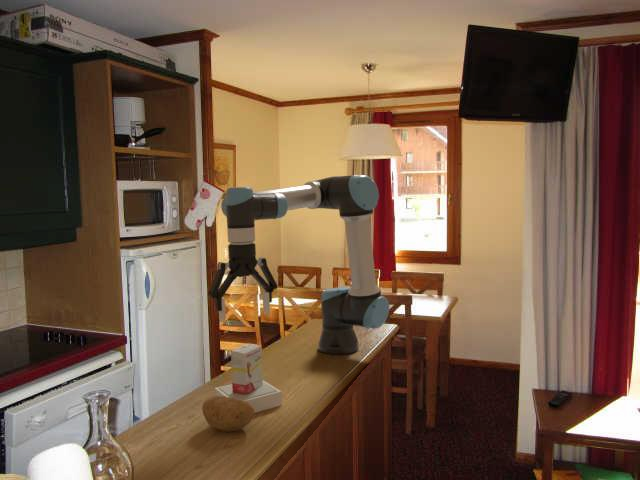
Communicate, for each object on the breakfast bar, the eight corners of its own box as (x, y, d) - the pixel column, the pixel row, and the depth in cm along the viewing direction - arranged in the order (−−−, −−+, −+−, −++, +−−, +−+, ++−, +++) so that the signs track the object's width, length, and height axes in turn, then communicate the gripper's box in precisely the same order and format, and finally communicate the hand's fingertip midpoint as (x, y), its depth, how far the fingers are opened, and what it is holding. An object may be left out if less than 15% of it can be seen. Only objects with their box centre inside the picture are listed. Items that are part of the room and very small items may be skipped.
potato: (242, 442, 127) (241, 410, 126) (195, 433, 132) (193, 402, 132) (263, 425, 136) (262, 395, 135) (217, 417, 141) (216, 388, 141)
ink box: (246, 395, 145) (244, 353, 144) (231, 392, 147) (229, 351, 146) (263, 384, 152) (262, 344, 151) (250, 382, 155) (248, 342, 153)
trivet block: (259, 390, 160) (258, 376, 159) (281, 405, 148) (281, 390, 148) (215, 401, 152) (214, 387, 152) (235, 418, 140) (235, 402, 140)
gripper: (274, 238, 156) (277, 308, 158) (193, 245, 142) (197, 322, 144) (287, 240, 150) (290, 313, 152) (203, 247, 136) (208, 328, 138)
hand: (245, 318), depth 148 cm, fingers open, 13 cm apart
